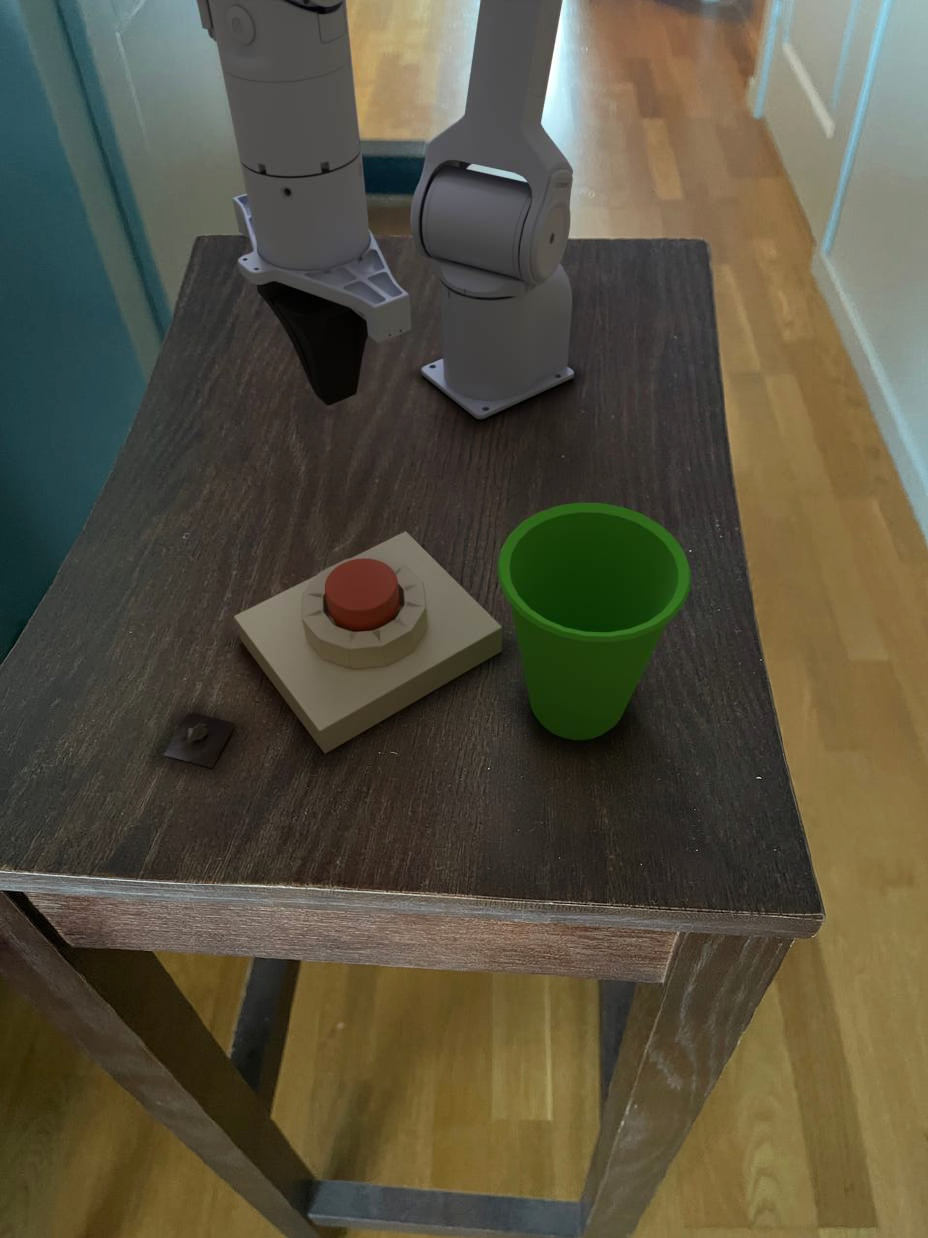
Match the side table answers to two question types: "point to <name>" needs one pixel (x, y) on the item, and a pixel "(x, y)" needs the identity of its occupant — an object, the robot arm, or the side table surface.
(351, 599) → the lid button
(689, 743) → the side table surface
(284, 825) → the side table surface
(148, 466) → the side table surface
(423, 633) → the button housing
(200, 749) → the dark square tile
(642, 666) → the cup
